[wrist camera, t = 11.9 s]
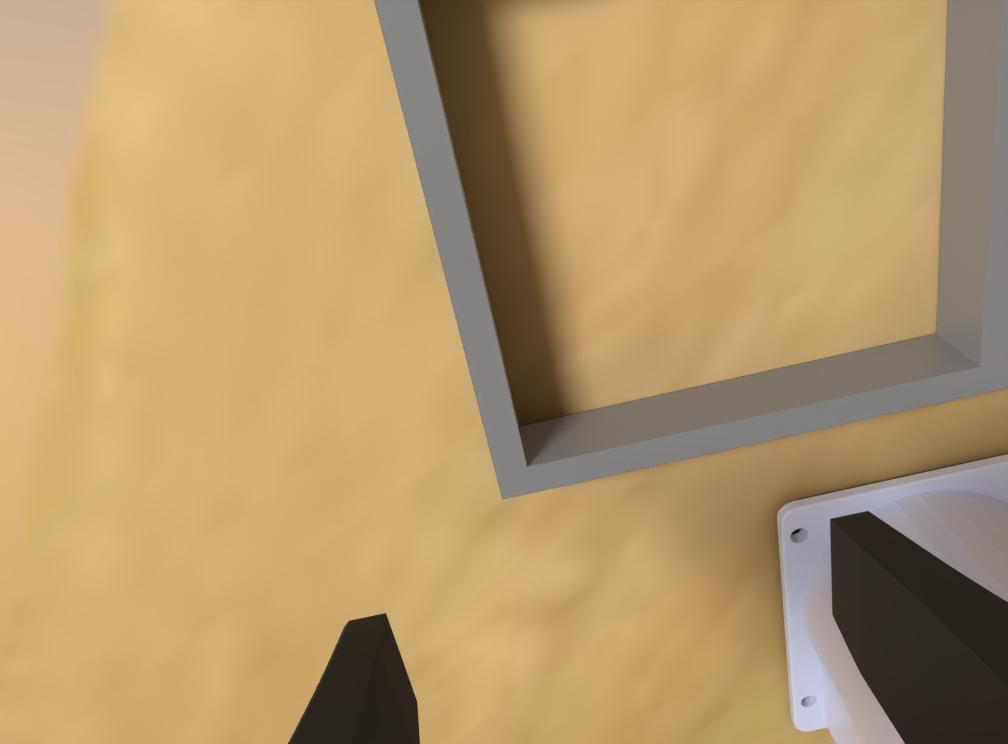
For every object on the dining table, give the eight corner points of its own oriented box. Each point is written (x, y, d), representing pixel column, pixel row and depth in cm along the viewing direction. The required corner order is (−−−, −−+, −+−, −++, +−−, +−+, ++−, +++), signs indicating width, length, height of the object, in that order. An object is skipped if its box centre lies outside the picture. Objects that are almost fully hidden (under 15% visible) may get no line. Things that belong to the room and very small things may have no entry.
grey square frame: (964, 353, 23) (1010, 387, 21) (496, 456, 23) (502, 499, 21) (994, -215, 17) (1060, -234, 15) (364, -66, 17) (356, -68, 15)
